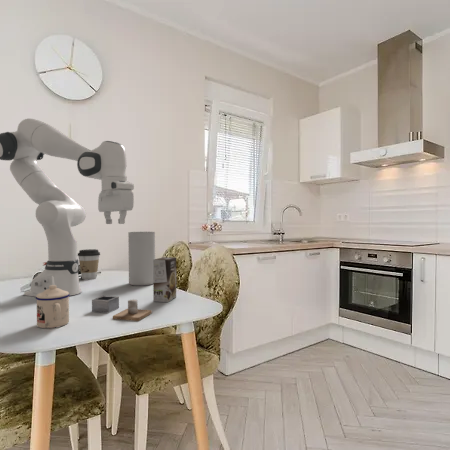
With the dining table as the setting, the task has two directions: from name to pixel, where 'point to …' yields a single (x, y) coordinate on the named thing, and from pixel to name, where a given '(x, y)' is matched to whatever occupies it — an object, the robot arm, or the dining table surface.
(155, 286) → the coffee box
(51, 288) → the teacup with lid
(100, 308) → the steel collar
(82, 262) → the coffee cup
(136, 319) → the stand
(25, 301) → the dining table surface
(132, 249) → the cylinder vase
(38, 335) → the dining table surface
